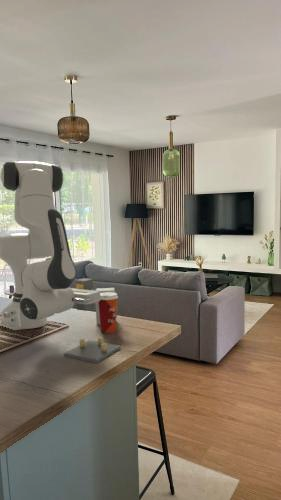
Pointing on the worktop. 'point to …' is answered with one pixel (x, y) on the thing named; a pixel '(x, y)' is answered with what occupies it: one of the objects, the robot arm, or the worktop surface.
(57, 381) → the worktop surface
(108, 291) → the skincare box
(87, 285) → the plug block
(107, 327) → the coffee cup
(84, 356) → the slate board
